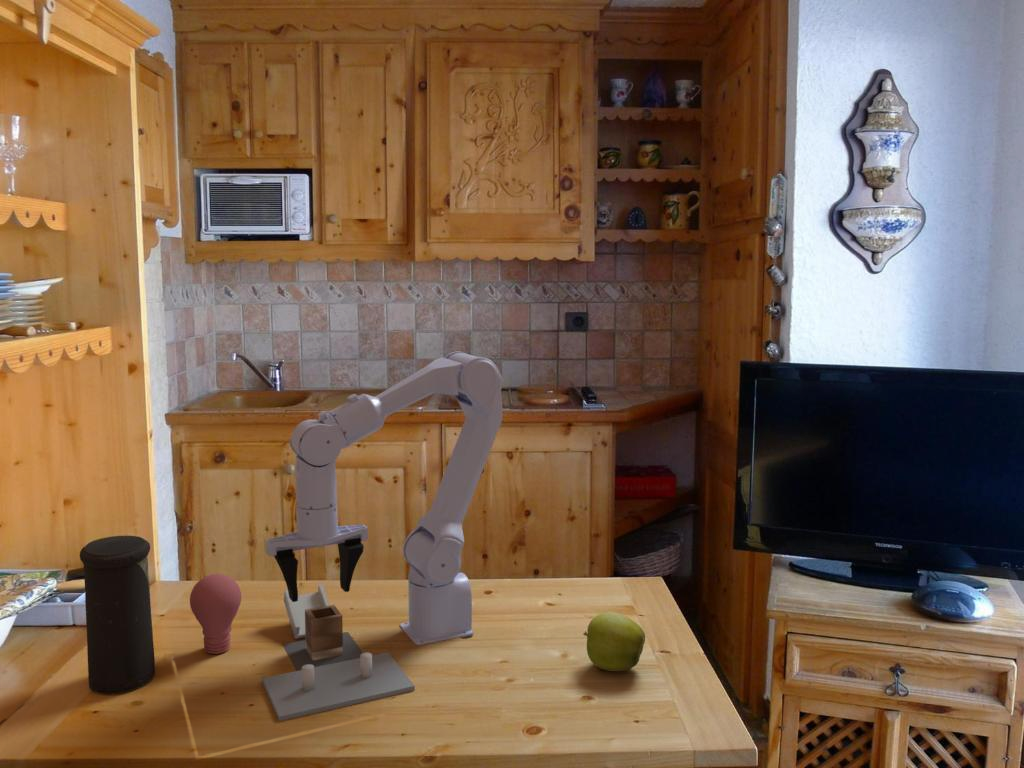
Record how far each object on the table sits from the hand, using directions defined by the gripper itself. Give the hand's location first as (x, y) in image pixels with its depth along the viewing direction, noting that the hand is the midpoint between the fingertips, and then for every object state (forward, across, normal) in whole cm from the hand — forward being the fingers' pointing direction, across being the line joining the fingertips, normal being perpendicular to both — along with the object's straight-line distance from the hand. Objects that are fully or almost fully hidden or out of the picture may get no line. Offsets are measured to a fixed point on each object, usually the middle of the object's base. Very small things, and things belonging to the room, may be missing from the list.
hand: (319, 594), depth 126 cm
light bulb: (+9, +13, -8) cm, 18 cm away
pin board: (+9, +1, +11) cm, 14 cm away
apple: (+10, -35, +24) cm, 44 cm away
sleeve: (+9, 0, 0) cm, 9 cm away
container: (+9, +26, -5) cm, 28 cm away
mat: (+9, 0, 0) cm, 9 cm away
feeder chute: (+9, -1, -9) cm, 13 cm away
